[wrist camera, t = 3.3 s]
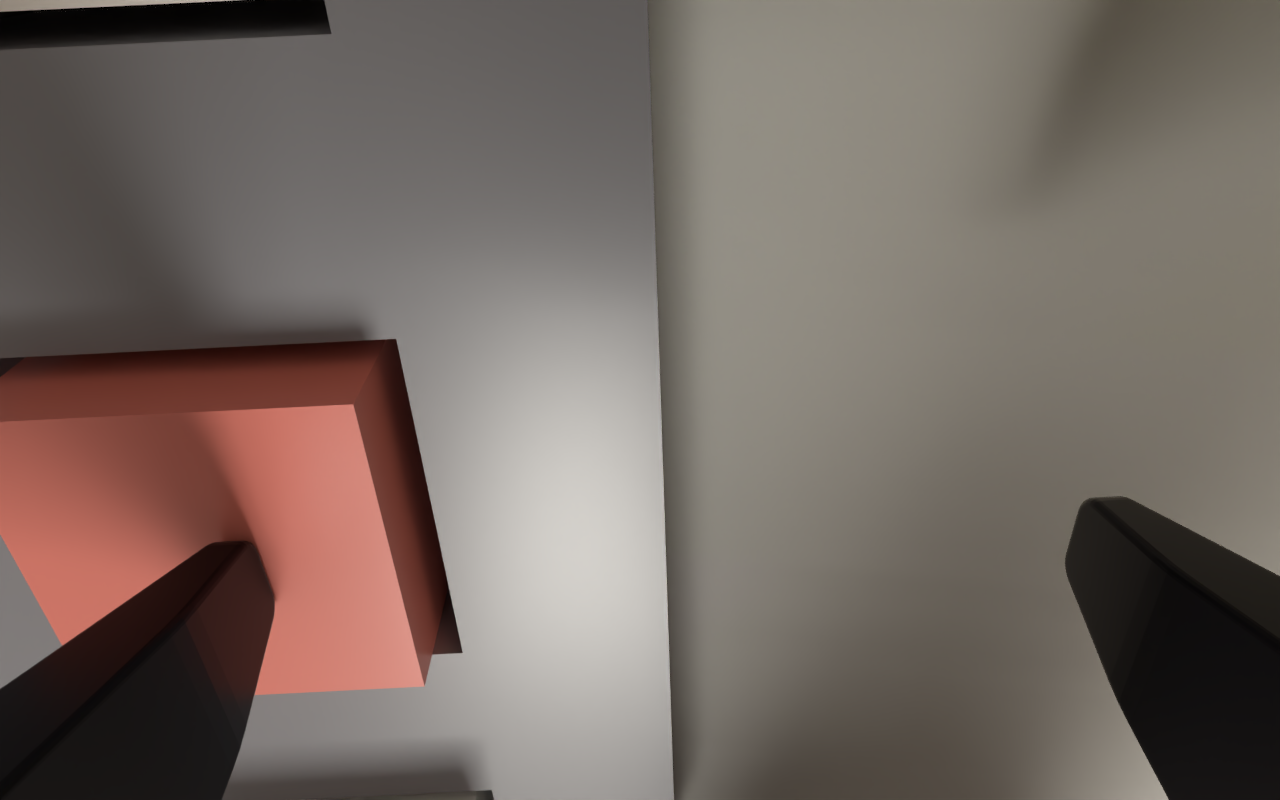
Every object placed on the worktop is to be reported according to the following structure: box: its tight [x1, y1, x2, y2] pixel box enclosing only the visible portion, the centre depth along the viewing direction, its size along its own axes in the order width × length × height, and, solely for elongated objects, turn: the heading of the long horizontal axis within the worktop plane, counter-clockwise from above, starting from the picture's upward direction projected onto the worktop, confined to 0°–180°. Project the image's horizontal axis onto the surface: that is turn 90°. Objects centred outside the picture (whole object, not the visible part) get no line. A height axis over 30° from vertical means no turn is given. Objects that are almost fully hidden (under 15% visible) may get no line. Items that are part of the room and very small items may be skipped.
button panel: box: [0, 0, 674, 800], centre depth 11 cm, size 24×10×4 cm, turn 2°
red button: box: [0, 339, 449, 695], centre depth 10 cm, size 4×4×3 cm
